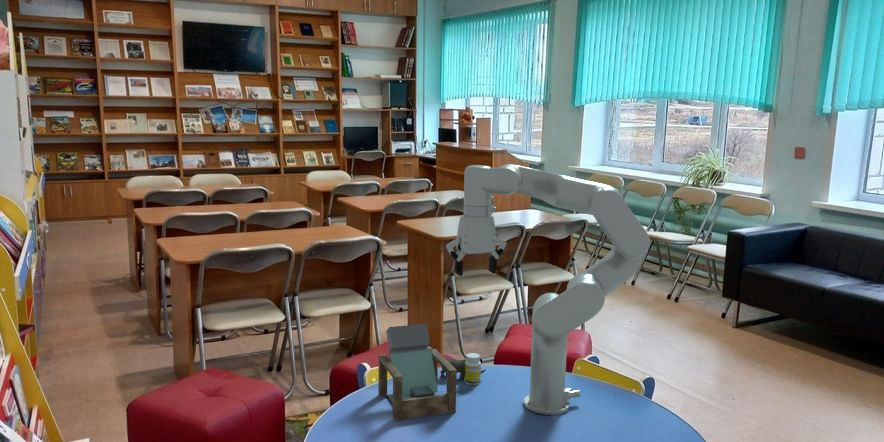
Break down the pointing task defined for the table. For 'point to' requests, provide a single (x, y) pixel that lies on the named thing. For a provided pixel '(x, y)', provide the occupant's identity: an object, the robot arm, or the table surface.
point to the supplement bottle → (472, 369)
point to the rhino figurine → (457, 367)
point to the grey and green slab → (412, 356)
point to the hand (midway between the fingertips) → (475, 273)
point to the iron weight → (420, 392)
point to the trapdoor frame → (419, 405)
